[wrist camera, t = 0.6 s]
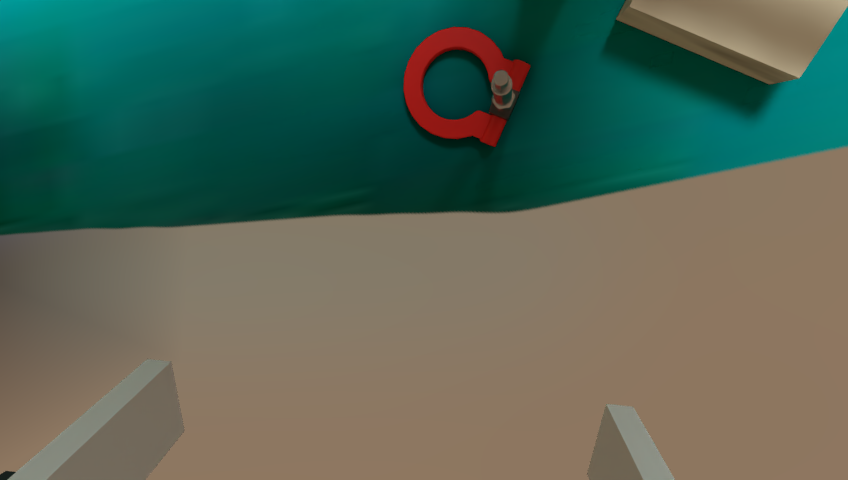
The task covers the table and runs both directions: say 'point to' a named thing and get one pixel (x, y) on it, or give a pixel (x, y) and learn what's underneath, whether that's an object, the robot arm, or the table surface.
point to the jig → (742, 31)
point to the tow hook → (501, 75)
